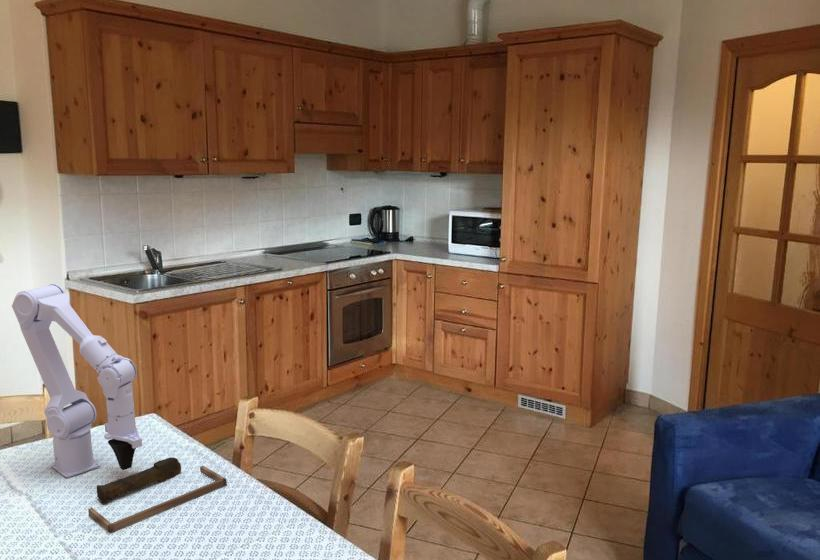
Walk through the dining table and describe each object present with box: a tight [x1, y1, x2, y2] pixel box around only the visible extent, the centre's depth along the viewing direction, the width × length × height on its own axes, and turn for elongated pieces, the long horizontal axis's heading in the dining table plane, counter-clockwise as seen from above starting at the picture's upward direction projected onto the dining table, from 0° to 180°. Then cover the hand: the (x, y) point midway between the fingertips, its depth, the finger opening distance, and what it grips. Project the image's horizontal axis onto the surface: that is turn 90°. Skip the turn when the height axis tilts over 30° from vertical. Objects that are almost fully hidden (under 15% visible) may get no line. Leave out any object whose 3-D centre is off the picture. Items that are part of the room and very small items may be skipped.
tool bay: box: [88, 465, 228, 534], centre depth 147 cm, size 10×27×2 cm, turn 138°
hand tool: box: [96, 457, 182, 504], centre depth 153 cm, size 19×4×5 cm, turn 135°
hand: (126, 467), depth 158 cm, fingers closed
